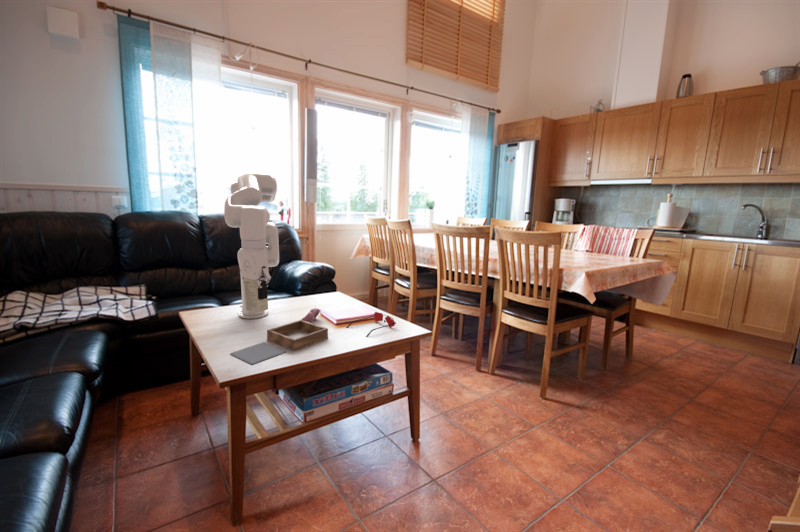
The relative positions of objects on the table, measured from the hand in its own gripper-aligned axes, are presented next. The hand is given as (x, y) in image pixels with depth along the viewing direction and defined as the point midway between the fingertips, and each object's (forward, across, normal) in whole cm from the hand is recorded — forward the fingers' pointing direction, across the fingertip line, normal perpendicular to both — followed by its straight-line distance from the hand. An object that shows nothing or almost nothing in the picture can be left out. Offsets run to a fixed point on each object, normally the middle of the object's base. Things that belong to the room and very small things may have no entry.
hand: (256, 296), depth 123 cm
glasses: (+21, +13, +45) cm, 52 cm away
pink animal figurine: (+21, -12, +34) cm, 42 cm away
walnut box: (+20, 0, +17) cm, 27 cm away
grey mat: (+20, 0, 0) cm, 20 cm away
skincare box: (+5, 0, 0) cm, 5 cm away
